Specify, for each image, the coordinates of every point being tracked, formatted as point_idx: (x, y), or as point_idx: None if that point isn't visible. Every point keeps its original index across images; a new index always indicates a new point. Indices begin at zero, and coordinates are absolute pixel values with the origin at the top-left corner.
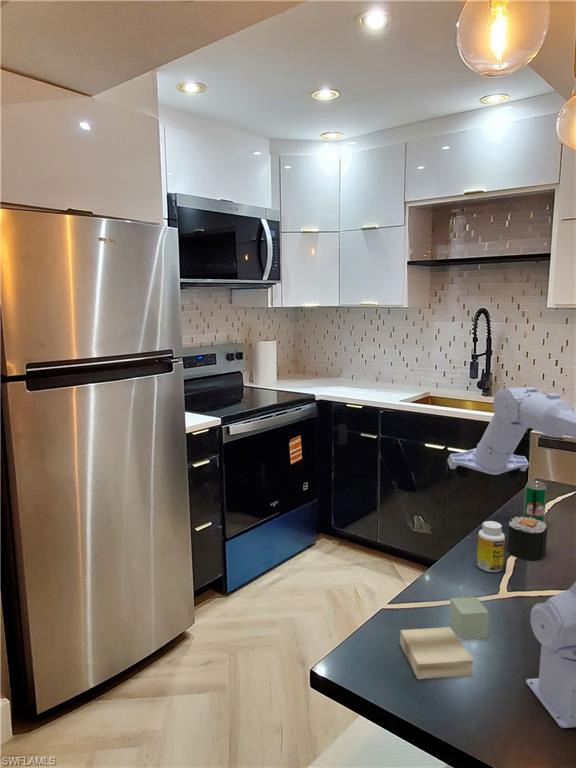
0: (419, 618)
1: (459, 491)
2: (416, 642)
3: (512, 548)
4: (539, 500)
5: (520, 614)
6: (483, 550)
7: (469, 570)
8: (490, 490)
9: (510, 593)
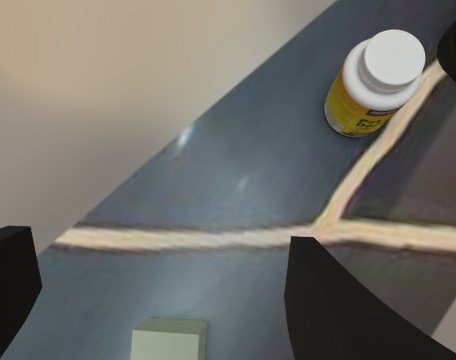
0: (97, 290)
1: (19, 328)
2: None
3: (449, 53)
4: None
5: None
6: (338, 105)
7: (297, 117)
8: (289, 274)
9: (343, 228)
